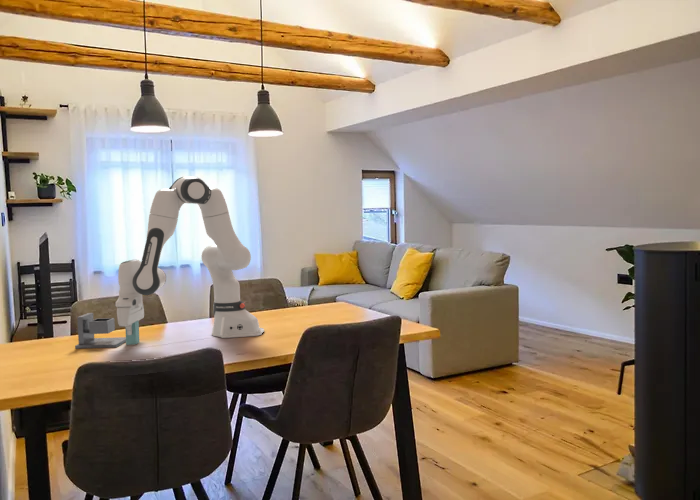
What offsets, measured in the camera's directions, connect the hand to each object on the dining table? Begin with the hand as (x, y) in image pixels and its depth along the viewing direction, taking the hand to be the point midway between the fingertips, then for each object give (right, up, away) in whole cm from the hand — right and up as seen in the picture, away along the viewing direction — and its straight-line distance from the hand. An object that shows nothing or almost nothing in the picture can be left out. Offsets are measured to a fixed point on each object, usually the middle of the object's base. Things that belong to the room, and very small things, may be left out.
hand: (132, 333), depth 229 cm
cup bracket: (-12, -4, 0) cm, 13 cm away
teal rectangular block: (0, -4, 0) cm, 4 cm away
